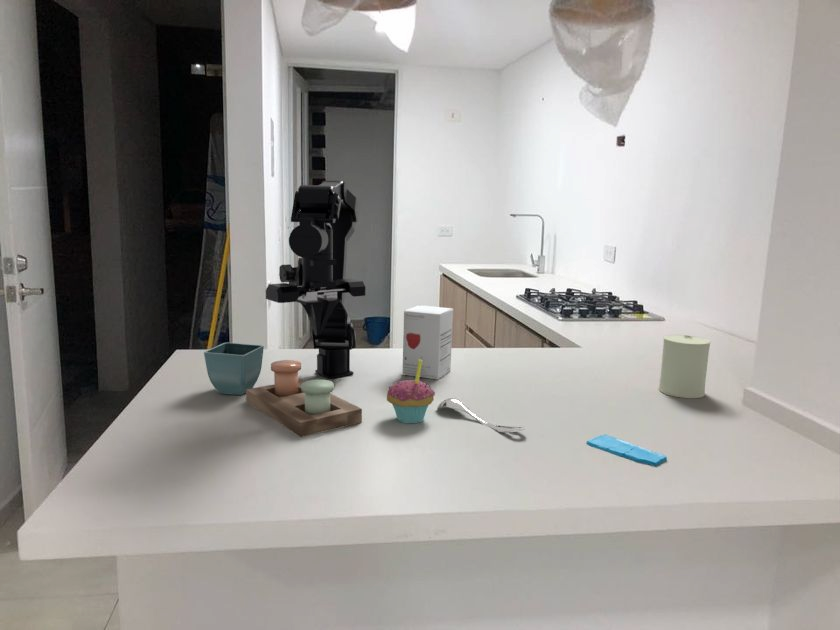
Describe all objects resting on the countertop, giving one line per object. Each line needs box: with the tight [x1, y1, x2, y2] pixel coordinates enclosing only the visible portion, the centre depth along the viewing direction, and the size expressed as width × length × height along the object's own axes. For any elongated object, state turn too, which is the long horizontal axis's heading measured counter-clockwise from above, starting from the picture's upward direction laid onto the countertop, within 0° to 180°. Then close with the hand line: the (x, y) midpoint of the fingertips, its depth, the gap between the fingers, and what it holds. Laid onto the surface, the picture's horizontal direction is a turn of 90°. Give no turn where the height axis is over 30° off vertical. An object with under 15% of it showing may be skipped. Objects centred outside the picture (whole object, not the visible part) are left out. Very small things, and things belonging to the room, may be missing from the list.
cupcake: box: [386, 356, 436, 424], centre depth 109 cm, size 9×8×12 cm
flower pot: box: [203, 342, 265, 396], centre depth 123 cm, size 9×9×9 cm
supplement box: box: [402, 304, 454, 380], centre depth 139 cm, size 9×9×15 cm
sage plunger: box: [301, 379, 335, 415], centre depth 107 cm, size 6×6×6 cm
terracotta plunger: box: [270, 359, 302, 397], centre depth 116 cm, size 6×6×6 cm
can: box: [657, 334, 711, 399], centre depth 130 cm, size 9×9×12 cm
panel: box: [245, 379, 363, 438], centre depth 112 cm, size 12×22×2 cm, turn 39°
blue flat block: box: [586, 434, 668, 467], centre depth 98 cm, size 2×12×6 cm
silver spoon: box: [436, 397, 527, 433], centre depth 110 cm, size 20×4×5 cm
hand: (317, 334), depth 117 cm, fingers closed
